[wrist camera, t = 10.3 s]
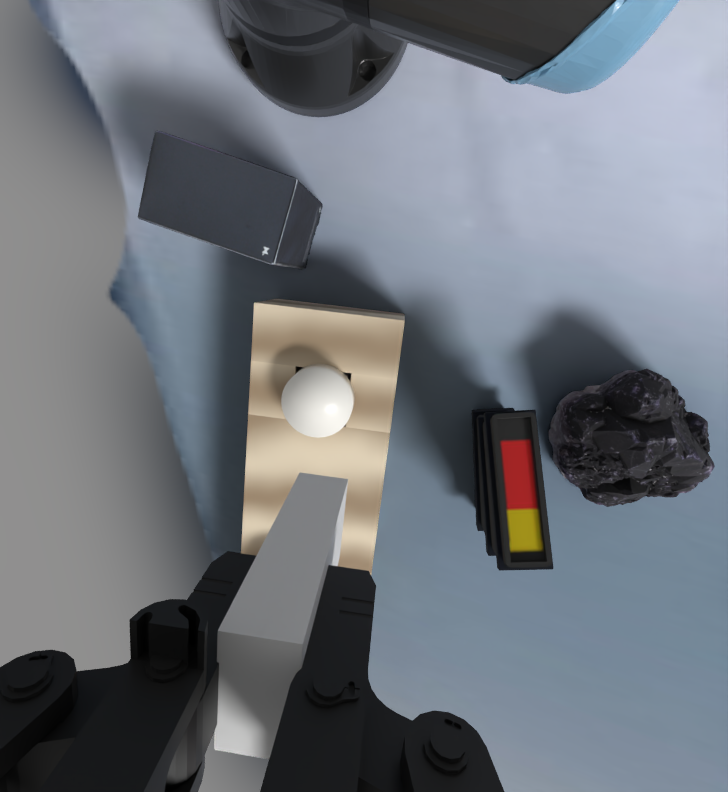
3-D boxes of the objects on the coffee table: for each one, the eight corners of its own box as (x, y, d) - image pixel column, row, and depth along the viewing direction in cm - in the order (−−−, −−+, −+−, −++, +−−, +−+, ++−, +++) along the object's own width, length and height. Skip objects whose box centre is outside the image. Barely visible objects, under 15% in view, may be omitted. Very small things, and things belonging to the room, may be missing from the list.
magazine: (475, 548, 47) (502, 573, 33) (465, 417, 50) (484, 386, 35) (514, 547, 47) (558, 571, 32) (501, 415, 50) (536, 383, 35)
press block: (276, 298, 45) (254, 302, 38) (404, 313, 44) (404, 320, 37) (257, 592, 53) (236, 638, 46) (365, 608, 52) (360, 658, 45)
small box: (326, 199, 42) (302, 175, 32) (305, 271, 44) (276, 270, 34) (213, 160, 42) (152, 123, 32) (196, 234, 44) (134, 221, 34)
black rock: (653, 509, 47) (731, 562, 38) (523, 483, 47) (568, 531, 37) (697, 379, 45) (793, 400, 35) (561, 350, 44) (620, 363, 35)
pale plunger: (303, 349, 44) (283, 364, 37) (363, 357, 44) (355, 373, 36) (298, 407, 45) (279, 432, 38) (357, 415, 45) (348, 442, 38)
